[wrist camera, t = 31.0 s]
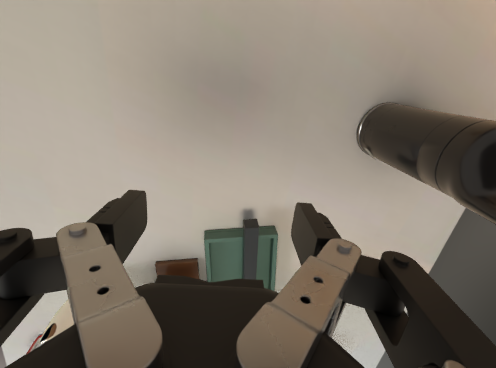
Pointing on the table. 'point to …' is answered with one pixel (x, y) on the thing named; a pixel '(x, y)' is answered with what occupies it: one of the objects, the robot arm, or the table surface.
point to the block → (250, 248)
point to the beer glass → (58, 323)
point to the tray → (240, 255)
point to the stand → (178, 268)
